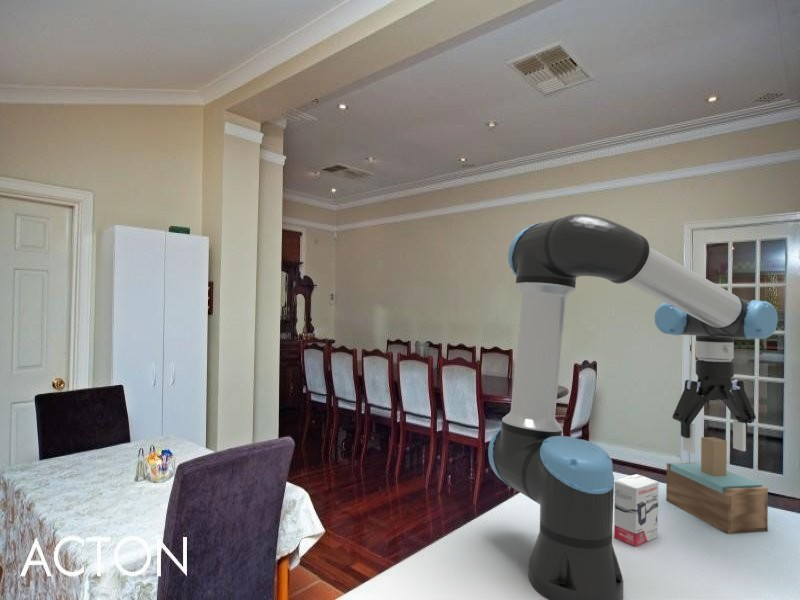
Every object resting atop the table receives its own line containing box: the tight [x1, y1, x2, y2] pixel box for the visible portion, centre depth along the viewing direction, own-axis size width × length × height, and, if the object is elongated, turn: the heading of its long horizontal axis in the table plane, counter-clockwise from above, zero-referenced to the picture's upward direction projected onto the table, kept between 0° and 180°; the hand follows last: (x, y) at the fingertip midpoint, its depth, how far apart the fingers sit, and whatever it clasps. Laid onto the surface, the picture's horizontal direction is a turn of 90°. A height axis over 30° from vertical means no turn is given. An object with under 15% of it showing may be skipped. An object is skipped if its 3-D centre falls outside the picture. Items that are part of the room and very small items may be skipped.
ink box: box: [613, 473, 659, 547], centre depth 99 cm, size 8×5×12 cm, turn 123°
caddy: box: [665, 461, 769, 535], centre depth 111 cm, size 10×18×9 cm, turn 10°
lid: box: [670, 436, 763, 494], centre depth 111 cm, size 10×15×10 cm, turn 10°
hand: (714, 450), depth 111 cm, fingers open, 13 cm apart
